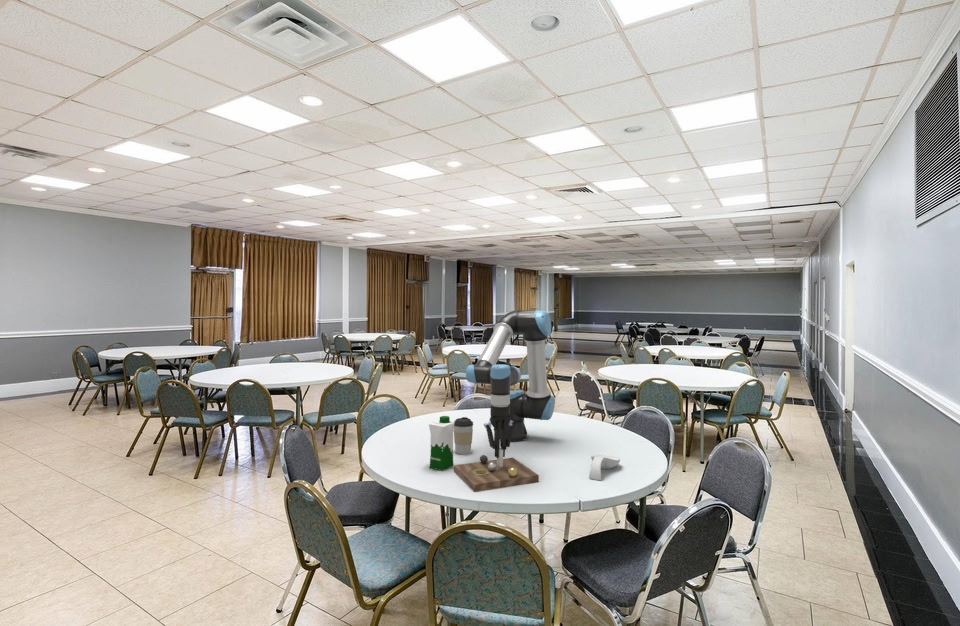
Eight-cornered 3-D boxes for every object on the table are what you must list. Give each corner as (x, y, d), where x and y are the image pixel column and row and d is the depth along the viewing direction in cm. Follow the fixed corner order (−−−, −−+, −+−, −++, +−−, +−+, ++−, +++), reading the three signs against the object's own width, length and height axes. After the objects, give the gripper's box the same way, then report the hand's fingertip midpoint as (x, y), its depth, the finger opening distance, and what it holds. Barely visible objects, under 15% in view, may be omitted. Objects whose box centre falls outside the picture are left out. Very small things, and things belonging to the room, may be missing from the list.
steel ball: (489, 471, 185) (495, 466, 186) (492, 473, 182) (499, 468, 183) (485, 464, 185) (491, 459, 186) (488, 466, 182) (495, 461, 183)
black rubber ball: (485, 461, 195) (485, 453, 195) (488, 463, 192) (489, 455, 192) (478, 462, 194) (478, 454, 194) (481, 464, 191) (481, 456, 191)
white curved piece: (594, 460, 205) (594, 443, 205) (622, 464, 200) (622, 447, 200) (580, 478, 184) (580, 459, 184) (611, 483, 179) (611, 464, 179)
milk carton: (456, 465, 197) (456, 417, 197) (443, 472, 189) (443, 421, 189) (439, 461, 202) (439, 414, 201) (426, 468, 194) (426, 418, 193)
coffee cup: (470, 455, 210) (470, 421, 209) (450, 454, 211) (450, 420, 211) (475, 449, 218) (475, 417, 218) (455, 448, 220) (456, 416, 220)
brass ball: (514, 474, 180) (514, 465, 180) (518, 477, 177) (519, 468, 177) (505, 475, 179) (506, 466, 178) (510, 479, 175) (510, 469, 175)
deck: (512, 463, 200) (512, 457, 200) (538, 481, 180) (538, 475, 180) (453, 471, 190) (453, 465, 190) (474, 491, 170) (474, 484, 170)
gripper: (510, 401, 191) (510, 460, 191) (480, 404, 186) (480, 464, 186) (519, 405, 184) (519, 466, 184) (488, 408, 179) (488, 470, 179)
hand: (499, 465), depth 185 cm, fingers closed
